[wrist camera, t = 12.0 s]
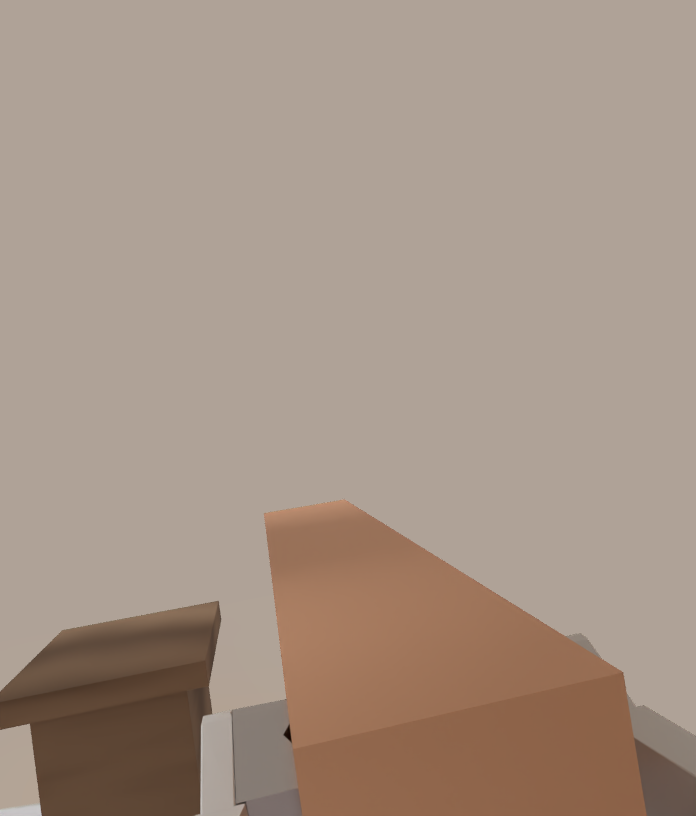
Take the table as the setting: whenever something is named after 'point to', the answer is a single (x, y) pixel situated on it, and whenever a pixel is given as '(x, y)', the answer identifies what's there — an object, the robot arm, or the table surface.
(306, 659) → the terracotta beam
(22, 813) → the table surface
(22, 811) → the table surface
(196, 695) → the walnut tower
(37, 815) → the table surface
